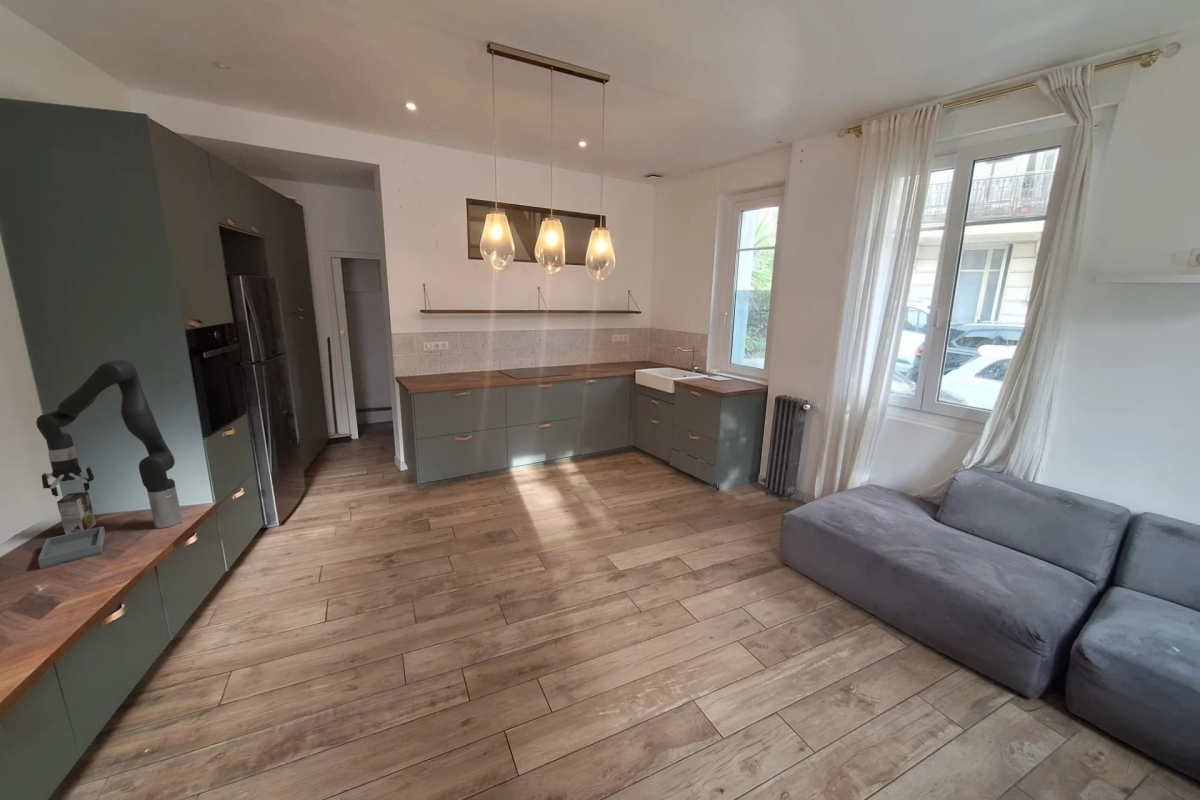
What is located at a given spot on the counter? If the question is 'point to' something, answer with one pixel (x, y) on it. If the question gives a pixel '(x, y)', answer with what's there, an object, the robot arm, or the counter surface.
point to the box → (72, 547)
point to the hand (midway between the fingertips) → (71, 493)
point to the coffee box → (76, 512)
